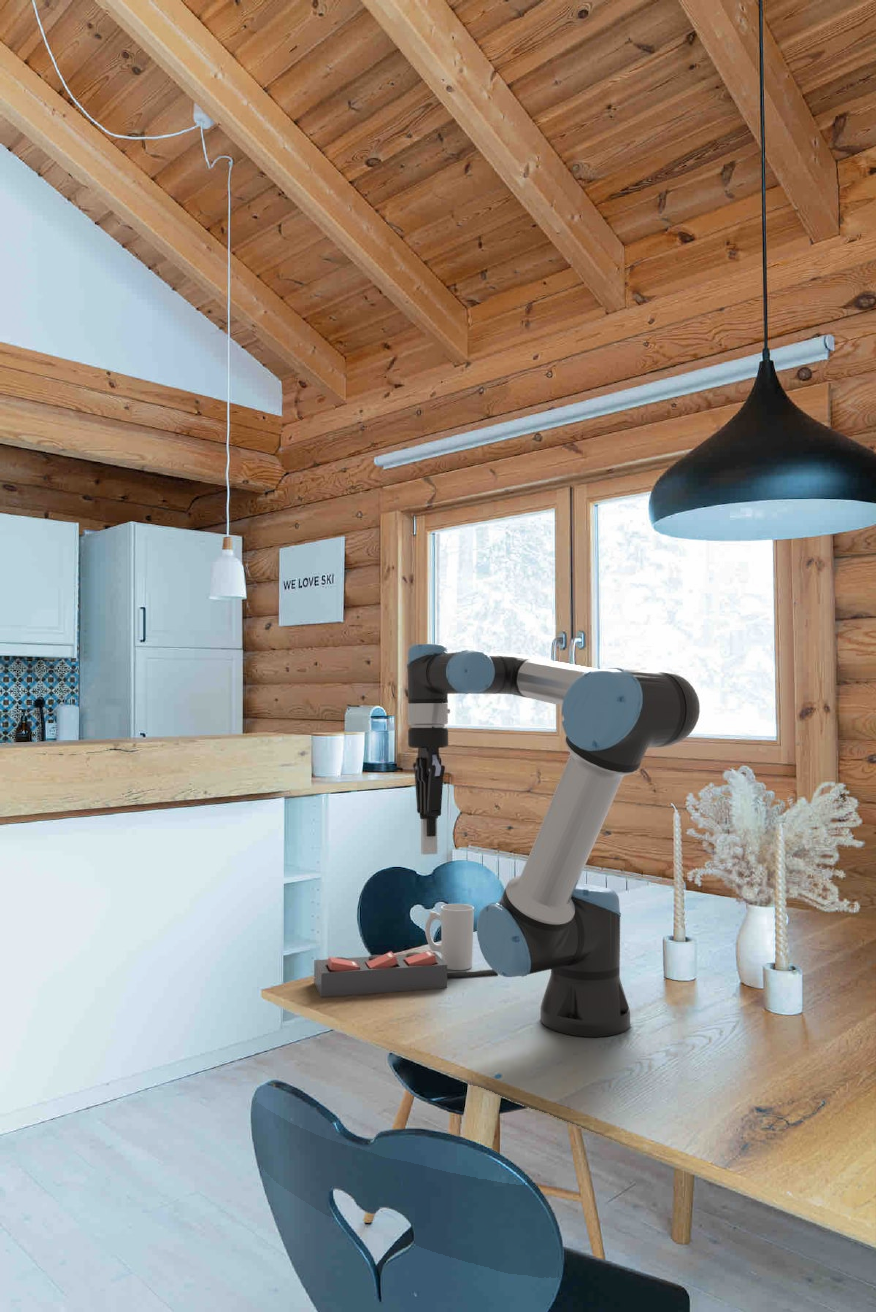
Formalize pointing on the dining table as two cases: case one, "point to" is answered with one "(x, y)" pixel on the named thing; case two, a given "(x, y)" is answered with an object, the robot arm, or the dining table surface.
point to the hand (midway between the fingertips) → (429, 853)
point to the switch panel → (384, 977)
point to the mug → (454, 935)
